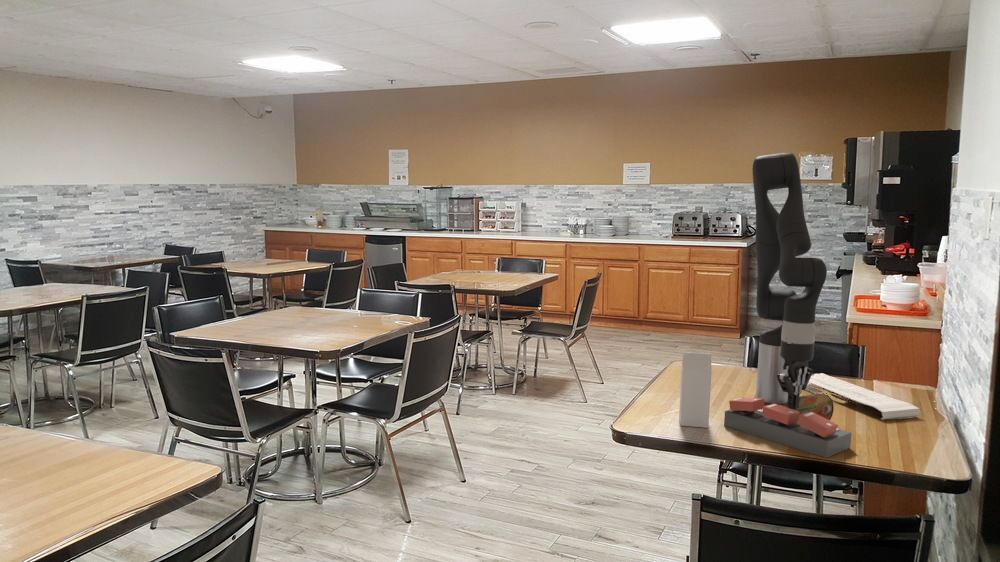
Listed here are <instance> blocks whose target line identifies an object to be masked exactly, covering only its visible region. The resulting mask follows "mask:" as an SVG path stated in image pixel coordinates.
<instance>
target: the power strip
mask: <svg viewBox="0 0 1000 562" xmlns="http://www.w3.org/2000/svg"><path fill="white" fill-rule="evenodd" d="M762 412H763V409H760V410H756V411H740V410H730V409H727V410H724V421H723V426H725V427H728V428H730V429H733V430H735V431H736V430H737V431H739V432H743V433H746V434H750V435H752V436H756V437H759V438H762V439H765V440H768V441H771V442H775V443H778V444H781V445H784V446H787V447H790V448H794V449H797V450H799V451H803V452H807V453H808V454H809V453H810V454H812V455H816V456H818V455H819V457H821V456H822V457H821V458H825V459H827V458H830V456H831V457H833V456H835V454H836V455H838V454H840V453H842V452H841V451H843V452H845V451H847V450H846V449H848V448H850V449H851V441H852V432H851V431H849V430H848V431H847V430H844V429H840V428H838V427H837V429H836V432H835V434H832V435H830V436H827V437H822V436H820V435H818V434H816V433H814V432H812V431H810V430H808V429H806V428H804V427H803V426H801V425H799V424H797V423H798V421H797V422H794V423H791V424H788V425H787V424H784V423H781V422H778V421H775V420H773V419H770V418H767V417H764V416H762ZM844 450H845V451H844ZM848 450H849V449H848ZM839 452H840V453H839ZM837 453H838V454H837ZM832 455H833V456H832Z"/></svg>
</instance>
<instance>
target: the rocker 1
mask: <svg viewBox="0 0 1000 562" xmlns="http://www.w3.org/2000/svg"><path fill="white" fill-rule="evenodd" d="M728 402H729V410H740V411H756V410H760V409H763V407H764V406H766V405H765V404H766V403H765V402H764V399H761V398H756V397H738V398H735V399H731V400H729V401H728Z"/></svg>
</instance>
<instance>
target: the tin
mask: <svg viewBox="0 0 1000 562" xmlns="http://www.w3.org/2000/svg"><path fill="white" fill-rule="evenodd" d="M834 407H835V406H834V401H832V399H831V398H830V397H829V396H828V395H825V394H818V393H817V394H814V393H812V394H807V395H802V396H801V395H800V396H799V408H798V409H795V410H796V411H799V412H800V415H801V414H804V413H807V412H810V411H811V412H813V413H815V414H818V415H820V416H822V417H824V418H826V419H828V420H830V421H831V419H832V417H833V414H834ZM800 415H799V416H800Z"/></svg>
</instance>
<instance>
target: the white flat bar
mask: <svg viewBox="0 0 1000 562" xmlns="http://www.w3.org/2000/svg"><path fill="white" fill-rule="evenodd" d="M812 384H813V385H812ZM808 385H809V386H808ZM815 385H816V386H815ZM810 386H812V387H815V388H819V389H822V388H824V389H826V390H829V391H830V392H834V393H835V394H838V395H840V396H843V397H845V398H848V399H850V400H852V401H854V402H856V403H859V404H862V405H866V406H869V407H872V408H874V409H876V410H878V411H879V412H880V413H881V416H882V417H881V418H880V419H882V420H881V421H886V420H885V419H891V420H897V419H896V418H903V419H908V418H907V417H915V418H917V417H916V416H918V417H920V416H921V415H922V414H921V410H920V409H921V408H919V407H918V406H916V405H913V404H912V403H909V402H908V401H907V402H906V401H903V400H899V399H896V398H894V397H893V398H892V397H890V396H887V395H884V394H881V393H878V392H875V391H873V390H871V389H868V388H865V387H862V386H859V385H857V384H854V383H851V382H848V381H846V380H842V379H839V378H836V377H833V376H830V375H828V374H825V373H822V372H821V373H814V374H812V375H811V378H810V380H809V382H808V384H807V387H806V389H805V390H804V391H807V392H809V391H810V392H809V393H812V394H814V393H815V392H816V393H817V392H820V393H821V392H822V391H820V390H817V389H815V388H812V387H810ZM817 386H819V387H817ZM820 387H821V388H820ZM824 389H822V390H824ZM822 394H824V393H822ZM826 394H827V393H826Z"/></svg>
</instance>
